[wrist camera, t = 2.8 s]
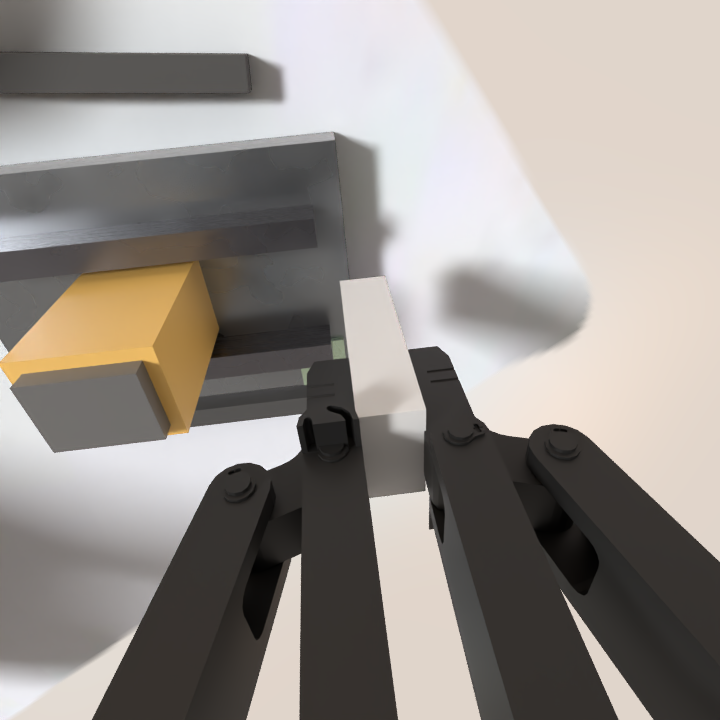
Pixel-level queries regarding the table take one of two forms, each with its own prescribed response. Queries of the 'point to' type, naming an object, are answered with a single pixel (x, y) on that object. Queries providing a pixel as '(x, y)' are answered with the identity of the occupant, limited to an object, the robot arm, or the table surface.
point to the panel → (193, 244)
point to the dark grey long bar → (250, 405)
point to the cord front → (124, 72)
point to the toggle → (117, 357)
